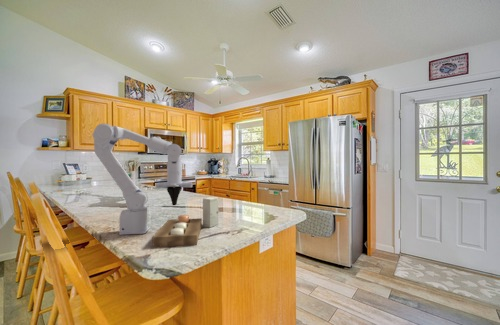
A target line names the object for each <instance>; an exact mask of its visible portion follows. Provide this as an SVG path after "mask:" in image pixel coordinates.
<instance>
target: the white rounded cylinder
mask: <svg viewBox="0 0 500 325" xmlns="http://www.w3.org/2000/svg"><path fill="white" fill-rule="evenodd" d="M171 235H184V229H183V228H174V229H172V230H171Z"/></svg>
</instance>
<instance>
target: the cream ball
mask: <svg viewBox="0 0 500 325" xmlns="http://www.w3.org/2000/svg"><path fill="white" fill-rule="evenodd" d="M175 228H187V226H186V223H184V222H180V223H176V224H175Z"/></svg>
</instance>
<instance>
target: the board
mask: <svg viewBox="0 0 500 325" xmlns="http://www.w3.org/2000/svg"><path fill="white" fill-rule="evenodd" d="M176 223H178V218H177V219H172V218H171V219H167V220H166V222H165V223H164V224H163V225H162V226H161V227H160V228H159V230H157V232H156V234H155V235H154V236H153V237H152V247H153V248H158V247H159V248H162V247H176V246H177V247H178V246H179V247H180V246H192V245H193V246H195V245H197V244H198V240H199V238H200V237H199V236H200V234H201V229H202V227H203V217H202V218H200V217H199V218H189V223H186V226H187V228H183V229H184V235H171V230H172V229H174V228H175V224H176Z"/></svg>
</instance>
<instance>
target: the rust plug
mask: <svg viewBox="0 0 500 325" xmlns="http://www.w3.org/2000/svg"><path fill="white" fill-rule="evenodd" d="M189 217H190V215H189V214H180V215H178V217H177V219H178V223H180V222H184V223H189V219H190V218H189Z"/></svg>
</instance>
